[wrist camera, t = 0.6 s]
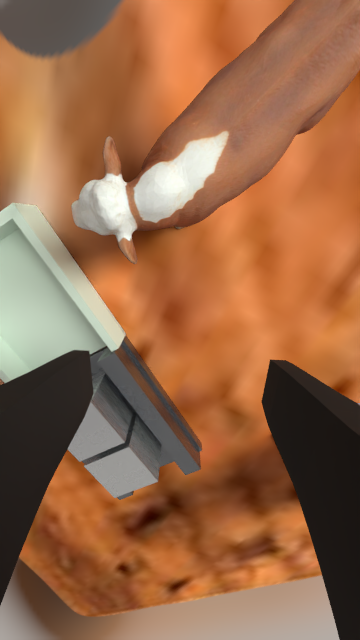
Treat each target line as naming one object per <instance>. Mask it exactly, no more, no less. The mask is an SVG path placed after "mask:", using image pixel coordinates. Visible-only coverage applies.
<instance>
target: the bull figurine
mask: <svg viewBox="0 0 360 640" xmlns="http://www.w3.org/2000/svg"><path fill="white" fill-rule="evenodd" d="M359 70H360V0H295V1H294V2H293V3H292V4H291V5H290V6H288V8H287V9H286V10H285V11H284V12H283V13H282V14H281V15H280V16H279V17H278V18H277V19H276V20H275V21H273V22H272V23H271V24H270V25H269V26H268V27H267V28H266V29H265V30H264V31H263V32H262V33H261V34H260V35H259V37H258V38H257V40H256V41H255V42H254V43H253V44H252V45H250V46H249V47H248V48H247V49H246V50H244V51H243V52H242V53H241V54H240V55H239V56H238V57H237V58H236V59H235V60H233V61H232V62H231V63H229V64H228V65H227V66H225V67H224V68H223V69H221V70H220V71H219V72H218V73H217V74H216V75H215V76H214V77H213V78H212V79H211V80H210V81H209V82H208V83H207V85H206V86H205V87H204V88H203V90H202V91H201V92H200V93H199V94H198V95H197V96H196V98H195V99H194V100H193V101H192V102H191V103H190V105H189V106H188V107H187V108H186V109H185V110H184V111H183V112H182V113H181V114H180V115H179V117H178V118H177V119H176V120H175V121H174V122H173V123H172V124H171V125H170V126H169V127H167V129H166V130H165V131H164V132H163V133H162V134H161V136H160V137H159V139H158V140H157V142H156V143H155V145H154V146H153V148H152V149H151V151H150V152H149V154H148V156H147V157H146V159H145V161H144V163H143V166H142V172H141V173H140V174H139V175H138V176H137V177H136V178H135V179H133V180H132V181H130V182H128V183H127V182H125V181H124V180H123V179H122V172H121V162H120V159H119V156H118V153H117V150H116V145H115V142H114V140H113V139H112V138H111V137H109V136H108V137H107V138H106V141H105V145H104V149H103V158H104V163H105V176H104V178H103V179H102V180H92V181H90V182H88V183H87V184H85V186H84V187H83V188H82V190H81V192H80V196H79V200H77V201H75V202H73V204H72V214H73V219H74V222H75V224H76V225H77V226H78V227H80V228H82V229H86V230H92V231H94V232H97V233H98V234H100V235H111V234H115V235H116V237H117V242H118V246H119V248H120V250H121V251H122V253H123V254H124V255H125V256H126V257H127V259H128V260H129V261H130V262H132V263H133V264H136V263H137V256H136V251H135V248H134V244H133V241H132V233H133V232H134V231H135V230H143V231H149V230H157V229H163V228H169V227H172V226H175V227H176V228H177V229H181V228H184V227H187V226H190V225H193V224H195V223H198V222H200V221H202V220H204V219H205V218H206V217H208V216H209V215H210V214H212V213H213V212H214V211H215V210H216V209H217V208H219V207H220V206H221V205H223V204H225V203H227V202H228V201H230V200H232V199H234V198H235V197H237V196H238V195H240V194H241V193H242V192H244V191H245V190H246V189H247V188H249V187H250V186H251V185H253V184H255V183H256V182H258V181H259V180H261V179H262V178H263V177H264V176H265V175H267V174H268V173H269V172H270V170H271V169H272V168H273V167H274V166H275V165H276V163H277V162H278V161H279V160H280V158H281V157H282V156H283V154H284V153H285V151H286V150H287V148H288V147H289V145H290V144H291V142H292V140H293V139H294V137H295V136H296V135H297V134H301V133H304V132H306V131H308V130H310V129H311V128H313V127H314V126H315V125H316V124H317V123H318V122H319V121H320V120H321V119H322V118H323V117H324V116H325V115H326V113H327V112H328V111H329V109H330V108H331V107H332V105H333V104H334V103H335V101H336V100H337V99H338V97H339V96H340V95H341V93H342V92H343V91H344V90H345V89H346V88H347V87H348V85H349V84H350V83H351V81H352V80H353V79H354V77H355V76H356V74H357V73H358V71H359Z"/></svg>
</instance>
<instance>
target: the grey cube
mask: <svg viewBox="0 0 360 640" xmlns="http://www.w3.org/2000/svg"><path fill="white" fill-rule="evenodd" d="M161 446H162V444H161V443H160V442H159V440H158V439H157V438H156V437H155V435H154V434H153V433H152V431H151V430H150V429H149V428H148V426H147V425H146V424H145V422H144V421H143V420H142V419H141V417H140V416H139V415H138V413H137V412H136V411H135V410H133V414H132V418H131V421H130V425H129V429H128V433H127V436H126V440H125V443H122V444H120V445H118V446H115V447H113V448H111V449H108V450H106V451H104V452H101V453H99V454H97V455H94V456H92V457H90V458H87V459H86V462H85V464H84V467H85V468H86V469H87V470H88V471H89V472H90V473H91V474H92V475H93V476H94V477H95V478H96V479H97V480H98V481H99V482H100V483H101V484H102V485H103V486H104V487H105V488H106V489H107V491H108V492H109V493H110V494H111V495H112V496H113V497H114V498H116V497H118V496H121V495H124V494H126V493H129V492H132V491H134V490H137V489H139V488H142V487H145V486H147V485H150V484H153V483H155V482H158V476H159V466H160V456H161Z"/></svg>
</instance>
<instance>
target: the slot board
mask: <svg viewBox="0 0 360 640" xmlns="http://www.w3.org/2000/svg"><path fill="white" fill-rule="evenodd" d="M90 362H91V372H92V376H94V375H96V374H98V373H100V372H102V371H105V372H106V374H107V375H108V376H109V378H110V379H111V380H112V381H113V383H114V384H115V385H116V387H117V388H118V389H119V390H120V392H121V393H122V394H123V396H124V397H125V398H126V399H127V401H128V402H129V403H130V405H131V406H132V407H133V408H134V410H135V411H136V412H137V413H138V415H139V416H140V417H141V419H142V420H143V421H144V422H145V424H146V425H147V426H148V428H149V429H150V430H151V431H152V433H153V434H154V435H155V437H156V438H157V439H158V440H159V442H160V443H161V444H162V446H161V456H160V466H159V467H161V466H164V465H166V464H169V463H171V462H174V461H175V462H176V464H177V465H178V466H179V467H180V469H181V470H182V471H183V473H184V474H185V475H187V474H190V473H192V472H195V471H198V470H200V469H201V466H200V451H202V445H201V442H200V441H199V439H198V438H197V436H196V435H195V434H194V432H193V431H192V429H191V428H190V426H189V425H188V424H187V422H186V421H185V419H184V418H183V416H182V415H181V414H180V412H179V411H178V409H177V408H176V406H175V405H174V404H173V402H172V401H171V399H170V398H169V396H168V395H167V394H166V392H165V391H164V389H163V388H162V386H161V385H160V384H159V382H158V381H157V379H156V378H155V376H154V375H153V374H152V372H151V371H150V369H149V368H148V366H147V365H146V364H145V362H144V361H143V359H142V358H141V357H140V355H139V354H138V352H137V351H136V349H135V348H134V347H133V345H132V344H131V342H130V341H129V339H128V338H127V337H126V336H125V337H124V339H123V341H122V343H121V345H120V347H119V348H118V349H116V350H114V351H112V352H111V350H110V349H109V348H108V346H105V347H103V348H101V349H100V350H98V351H96V352H94V353H92V354H90ZM82 462H83V463H84V464H85V462H86V459H85V460H83V461H82ZM133 492H134V491H132V492H129V493H126V494H124V495H121V496H118V497H117V498H118V499H119V500H121V499H123V498H126V497H129V496H131V495H133Z"/></svg>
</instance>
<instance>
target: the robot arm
mask: <svg viewBox="0 0 360 640" xmlns="http://www.w3.org/2000/svg"><path fill="white" fill-rule="evenodd" d="M92 396H93V383H92V372H91V362H90V352H89V351H85V350H73V351H70V352H68V353H65V354H63V355H61V356H59V357H57V358H55V359H53V360H51V361H49V362H47V363H45V364H43V365H42V366H40V367H38V368H36V369H34V370H32V371H30V372H28V373H26V374H24V375H21V376H19V377H17V378H15V379H13V380H11V381H9V382H7V383H4V384H2V385H0V605H1V602H2V600H3V597H4V594H5V592H6V589H7V586H8V584H9V581H10V579H11V576H12V573H13V570H14V568H15V565H16V563H17V560H18V557H19V555H20V552H21V550H22V547H23V545H24V542H25V540H26V537H27V535H28V533H29V530H30V528H31V525H32V523H33V520H34V518H35V515H36V513H37V511H38V508H39V506H40V504H41V501H42V499H43V497H44V494H45V492H46V490H47V487H48V485H49V483H50V481H51V479H52V477H53V475H54V473H55V471H56V469H57V467H58V465H59V463H60V462H61V460H62V458H63V456H64V454H65V452H66V451H67V449H68V447H69V445H70V443H71V441H72V440H73V438H74V436H75V434H76V432H77V430H78V428H79V426H80V425H81V423H82V421H83V419H84V417H85V415H86V412H87V410H88V407H89V405H90V402H91V399H92ZM262 405H263V409H264V412H265V416H266V420H267V423H268V426H269V428H270V431H271V433H272V436H273V438H274V441H275V443H276V445H277V448H278V450H279V452H280V455H281V457H282V459H283V462H284V464H285V466H286V469H287V471H288V473H289V476H290V478H291V480H292V482H293V485H294V488H295V490H296V493H297V495H298V498H299V501H300V504H301V507H302V510H303V514H304V517H305V520H306V523H307V526H308V529H309V532H310V535H311V539H312V542H313V545H314V549H315V552H316V555H317V559H318V562H319V565H320V569H321V572H322V576H323V579H324V583H325V587H326V590H327V594H328V598H329V600H330V605H331V608H332V612H333V616H334V619H335V623H336V627H337V630H338V635H339V639H340V640H360V403H356V402H354V401H352V400H350V399H349V398H347V397H345V396H343V395H342V394H340V393H338V392H337V391H335V390H334V389H332V388H330V387H329V386H327V385H325V384H324V383H322V382H321V381H319V380H318V379H316V378H314V377H313V376H311V375H310V374H308V373H307V372H305V371H303V370H302V369H300V368H298V367H297V366H295V365H293V364H292V363H290V362H288V361H286V360H270V364H269V369H268V373H267V378H266V383H265V388H264V393H263V398H262Z"/></svg>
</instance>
